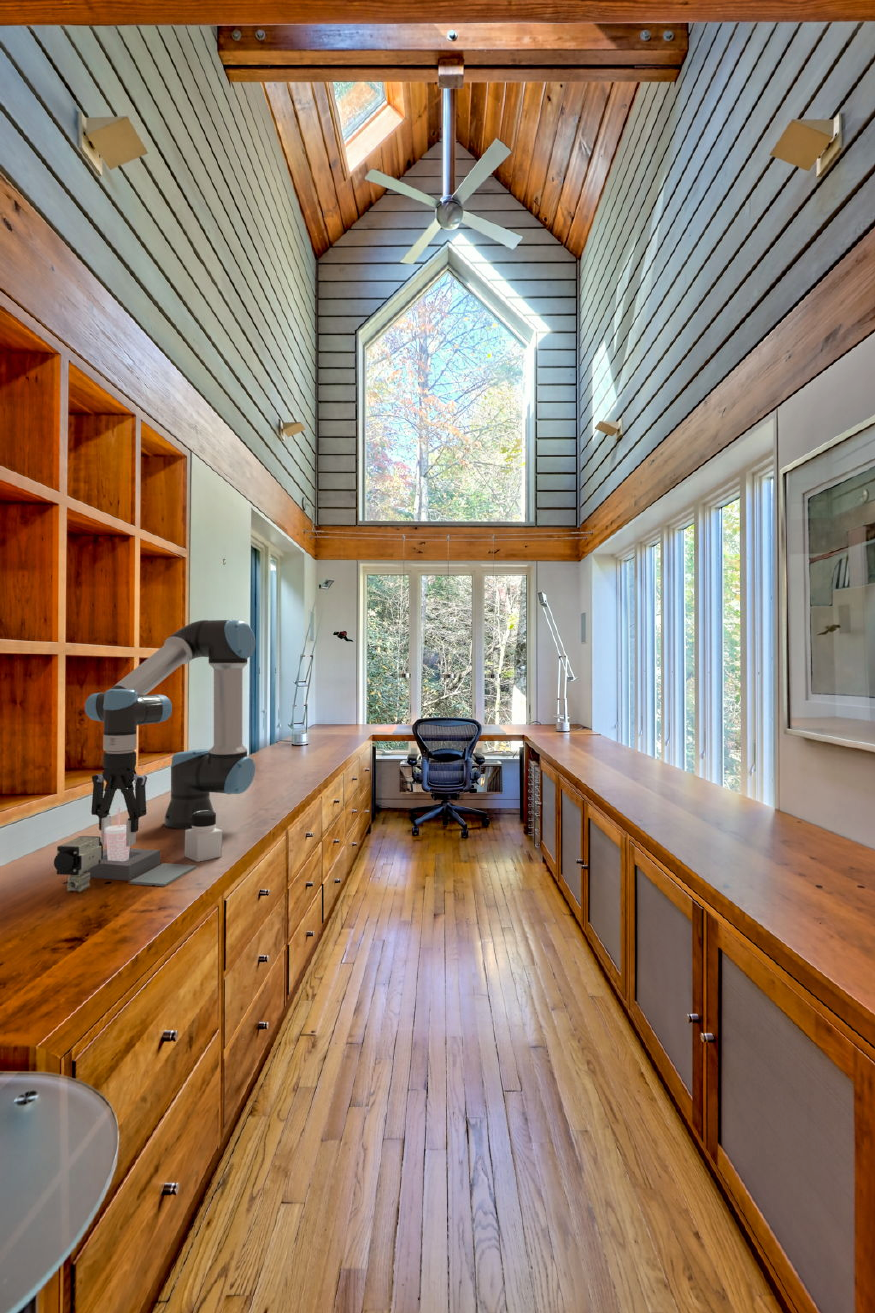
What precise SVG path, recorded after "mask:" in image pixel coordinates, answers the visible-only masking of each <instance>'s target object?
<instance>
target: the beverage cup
mask: <svg viewBox="0 0 875 1313" xmlns="http://www.w3.org/2000/svg"><path fill="white" fill-rule="evenodd" d="M105 833H106V838H107V844H106V849H107V857H108V860H112V861H126V860H128V859H129V849H130V847H131V846H129V847H127V846H126V824H121V807H120V806H118V807H117V824H116V825H115V824H114V825H111V826H109V827H107V828H105Z"/></svg>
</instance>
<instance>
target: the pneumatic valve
mask: <svg viewBox="0 0 875 1313" xmlns="http://www.w3.org/2000/svg"><path fill="white" fill-rule="evenodd" d="M103 850H104V845H102V843H101V836H95V835H94V836H93V835H92V836H91V835H88V836H87V835H78V836H77V837H76V838H74V839H71V840H70V841H67V842H65V843H63V844H60V845H58V846H57V847H56V856H55V857H54V859H53V866H54V868H55V870H56V875H61V876H62V875H63V876H64V875H66V876H67V878H66V880H67V883H66V887H67V889H66V890H67V892H71V891H72V892H79V893H80V892H83V891H84V890H86V889H88V888H90V887H91V883H90V880H91V878H90V873H89V872H87V873H82V872H84V871H87V870H89V869H90V868H91V867H93V866H95V865H97V864H99V863H100V860H101V859H103Z"/></svg>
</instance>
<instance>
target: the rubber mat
mask: <svg viewBox="0 0 875 1313" xmlns="http://www.w3.org/2000/svg"><path fill="white" fill-rule="evenodd" d="M193 869H194V870H195V869H197V865H193V864H178V863H165V862H163V863H160V864H159V865H157V866H155V867H154V868H152V869H150V870H148V871H146V872H144V873H142V874H140V875H138V876H137V877H135V878H133V879H131V880H129V885H139V886H140V885H141V886H152V885H155V886H154V887H166V885H167V884H168V885H171V882H172V883H174V882H175V881H176V879H177V878H179V879H180V878H182V877H184V876H185V875H187V874H188V873H187V872H189V873H190V872H192V871H193ZM186 873H187V874H186ZM184 874H185V875H184ZM183 875H184V876H183ZM181 876H182V877H181ZM174 880H175V881H174ZM177 880H178V879H177ZM173 881H174V882H173ZM168 885H167V886H168Z"/></svg>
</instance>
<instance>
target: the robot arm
mask: <svg viewBox="0 0 875 1313" xmlns="http://www.w3.org/2000/svg"><path fill="white" fill-rule="evenodd" d="M255 650H256V636H255V633H254V631H253V630H252V628H251V626H250V625H249V624H248V623H247V622H245V621H242V620H235V619H216V620H215V619H214V620H209V619H208V620H207V619H206V620H205V619H202V620H197V621H194V622H191V623H189V624H187V625H185V626H183V627H182V628H180V629H178V630H176V631H175V632H174V633H173V634H171V635H170V636H168V638H166V639H165V640H164V643H163V646H161V647H160V648H159V649H158V650H156V652H154V653H153V654H151V655H150V656H149V657H147V658H146V659H145V660H144V661H143V662H142V663H140V664H139V665H138V666H136V668H134V669H133V670H132V671H131V672H129V673H128V674H127V675H126V676H124V677H123V678H121V680H119V681H118V682H117V683H116V684H115V685H113V686H112V687H111V688H109V689H108V690H105V692H98V693H92V694H91V695H89V696H88V697H87V698H86V700H85V703H84V711H85V714H86V716H87V717H88V718H89V719H90V720H92V721H97V722H103V733H102V734H103V737H102V738H103V741H102V742H103V743H102V744H103V745H102V750H103V751H105V752H103V753H102V767H103V771H102V773H98V774H94V775H91V781H92V784H93V786H92V788H93V789H92V799H91V810H90V811H91V815H94V816H97V817H98V830H99V831H101V833H100V834H101V835H100V837H101V843H102V845H103V846H105V845H107V838H106V833H105V828H107V827H109V826H112V816H111V813H110V810H111V808H112V807H111V806H112V803H113V802H114V801H113V800H114V797H115V795H116V792H117V790H120V792H121V794H122V795H123V798H124V803H125V807H126V809H127V813H128V816H129V818H127V819H126V821H125V822H126V824H125V825H126V846H127V847H129V846H130V847H132V846H133V845H136V842H137V841H136V840H137V839H136V838H137V837H136V834H137V833H136V832H138V831H139V827H140V826H139V825H140V824H139V822H140V820H139V819H140V818H142V817H145V816H146V815H147V797H146V795H147V794H146V784H147V780H148V776H146V775H143V776H142V775H138V773H137V771H136V766H137V752H136V751H135V750H137V748H138V746H137V744H138V743H137V742H138V740H137V736H138V726H139V725H149V724H150V725H151V724H159V723H162V722H165V721H167V720H168V719H170V717H171V715H172V713H173V705H172V702H171V700H170V698H169V697H167V696H166V695H164V694H157V693H155V694H149V693H150V692H151V691H152V690H154V689H155V688H156V687H157V686H158V685H159V684H160V683H162V682H163V681H164V680H165V679H167V677H169V676H170V675H171V674H172V673H173V672H175V671H176V670H177V669H178V668H179V667H180V666H181V665H185V664H189V663H190V662H191V661H192V660H194V659H198V658H208V665H209V666H210V667H211V668H213V746H212V747H211V748H210V749H209V748H204V749H194V750H193V749H191V750H185V751H179V752H176V753H174V754H173V755H172V757H171V765H170V802H169V804H168V807H167V810H166V812H165V815H164V826H165V827H167V828H171V829H193V828H192V815H193V813H195V812H198V811H204V810H208V811H213V812H215V811H214V808H213V805H212V801H211V797H210V796H211V795H210V793H218V794H226V795H241V794H243V793H245V792H246V791H248V789H249V788H250V786H251V785H252V783H253V781H254V778H255V774H256V763H255V762H254V759H253V758H252V757H250V756H248V749H247V747H245V745H244V744H243V669H244V668H245V667H246V666H247V665H248V659H249V658H251V657H252V656H253V655H254V651H255ZM134 784H135V787H134ZM134 791H135V792H134Z"/></svg>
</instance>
